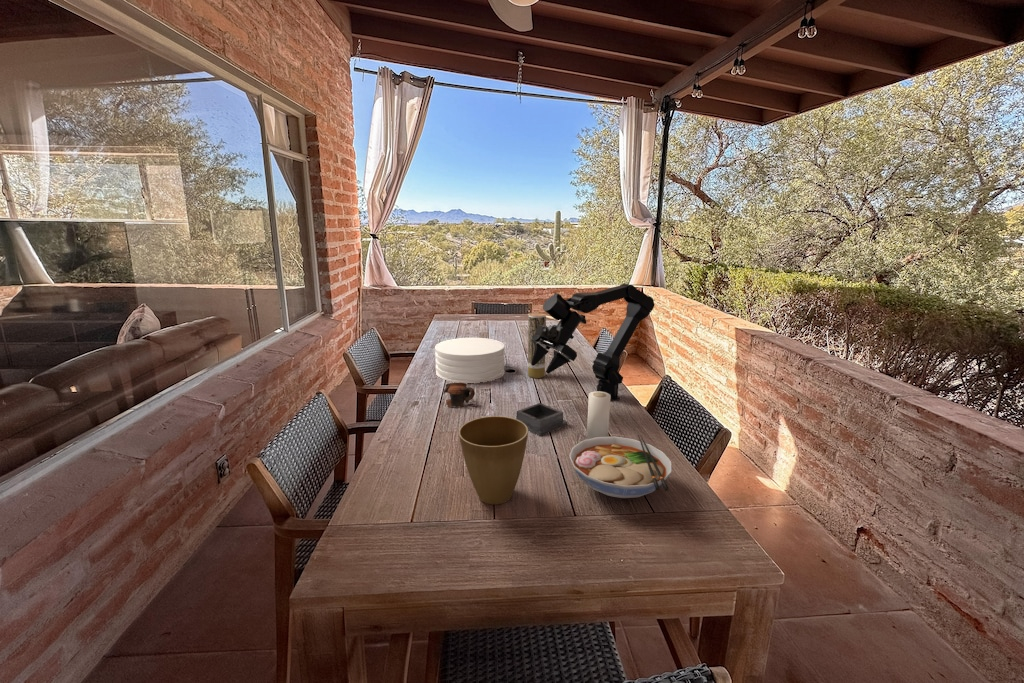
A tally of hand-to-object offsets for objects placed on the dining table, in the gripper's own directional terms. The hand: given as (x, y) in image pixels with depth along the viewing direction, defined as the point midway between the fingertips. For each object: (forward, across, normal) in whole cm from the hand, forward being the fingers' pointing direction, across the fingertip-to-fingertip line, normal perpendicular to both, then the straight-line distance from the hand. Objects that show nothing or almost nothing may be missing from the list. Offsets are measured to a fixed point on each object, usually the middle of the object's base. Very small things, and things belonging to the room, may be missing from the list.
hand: (539, 368), depth 145 cm
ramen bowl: (+16, +46, +4) cm, 49 cm away
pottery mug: (+24, -19, -7) cm, 31 cm away
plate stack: (+14, -48, +6) cm, 51 cm away
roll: (+8, +24, +13) cm, 29 cm away
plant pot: (+32, +36, -17) cm, 51 cm away
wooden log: (+1, -32, +23) cm, 39 cm away
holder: (+14, +8, +5) cm, 17 cm away
